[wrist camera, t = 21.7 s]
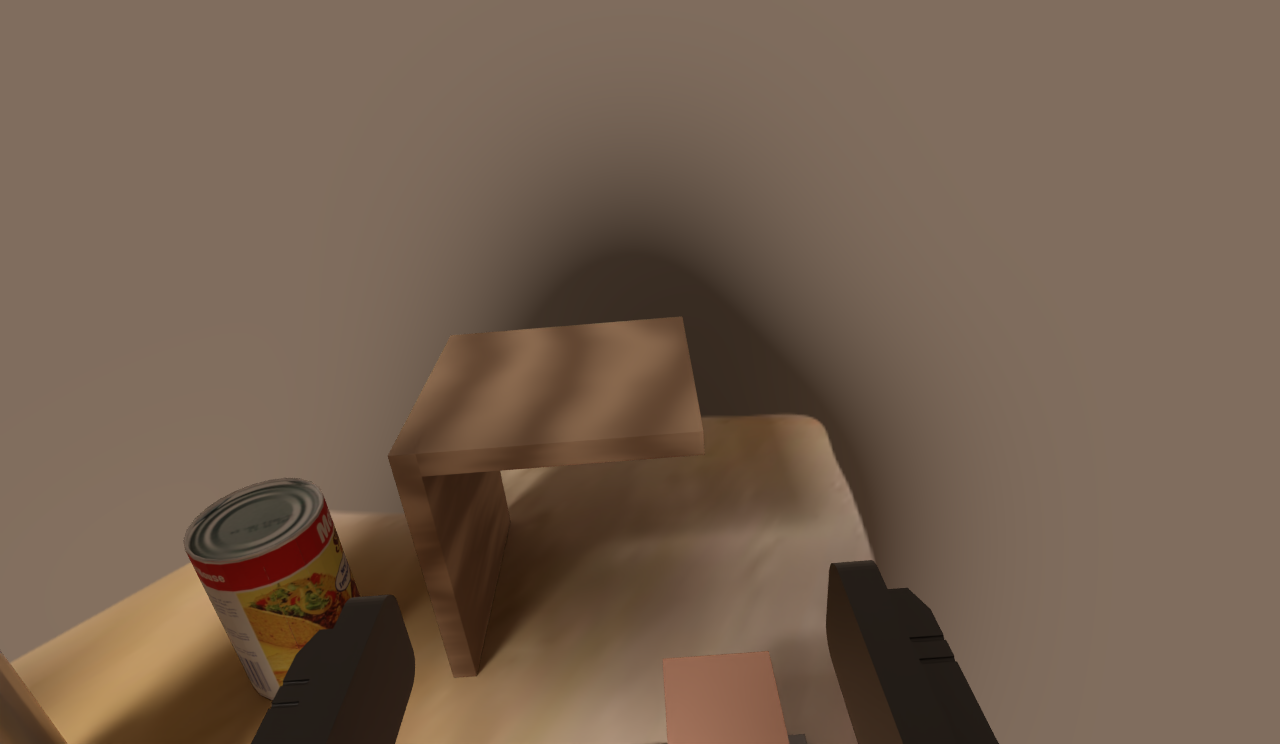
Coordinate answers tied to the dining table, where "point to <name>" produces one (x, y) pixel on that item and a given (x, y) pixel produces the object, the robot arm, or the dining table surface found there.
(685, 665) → the terracotta block
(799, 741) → the slate mat
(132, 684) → the dining table surface
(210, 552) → the canned food
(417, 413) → the shelf nook
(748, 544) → the dining table surface
